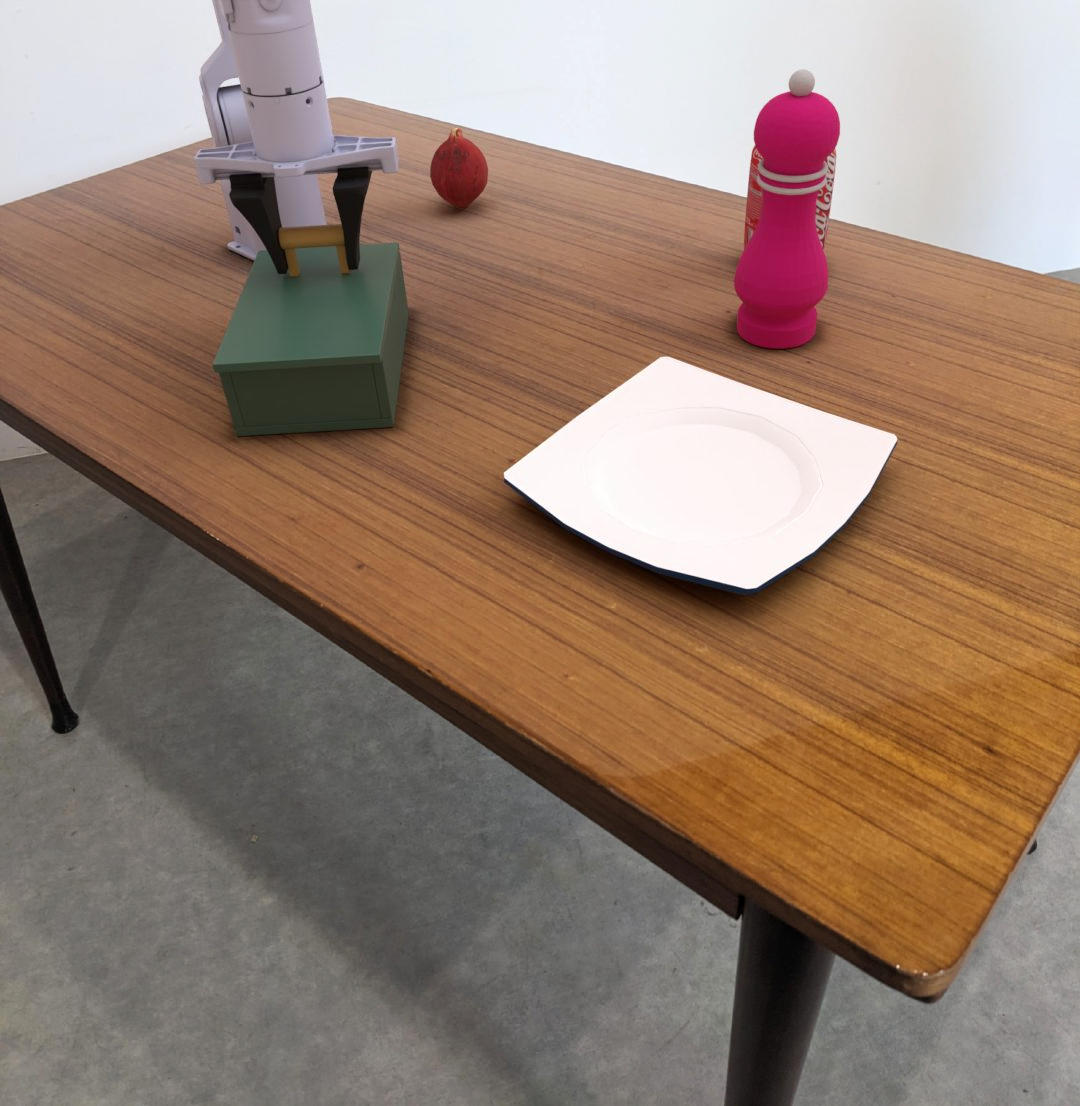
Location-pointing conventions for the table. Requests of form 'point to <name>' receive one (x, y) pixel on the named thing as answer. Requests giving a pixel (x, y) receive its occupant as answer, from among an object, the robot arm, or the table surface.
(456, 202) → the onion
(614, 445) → the plate
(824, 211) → the soda can
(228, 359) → the lid
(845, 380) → the table surface
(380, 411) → the chest
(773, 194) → the pepper mill
